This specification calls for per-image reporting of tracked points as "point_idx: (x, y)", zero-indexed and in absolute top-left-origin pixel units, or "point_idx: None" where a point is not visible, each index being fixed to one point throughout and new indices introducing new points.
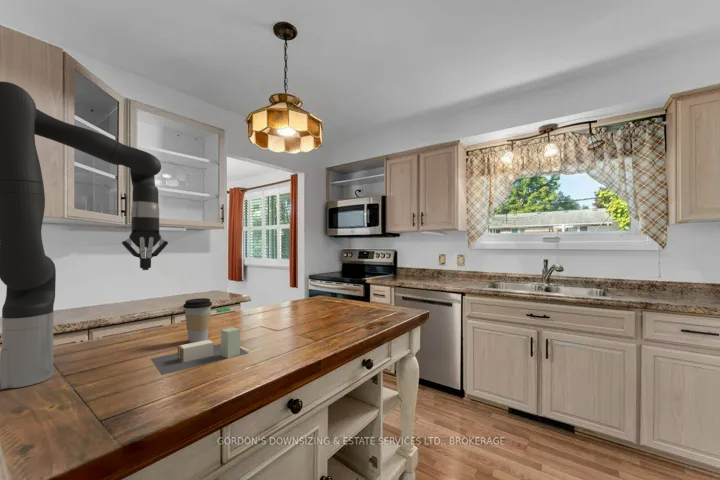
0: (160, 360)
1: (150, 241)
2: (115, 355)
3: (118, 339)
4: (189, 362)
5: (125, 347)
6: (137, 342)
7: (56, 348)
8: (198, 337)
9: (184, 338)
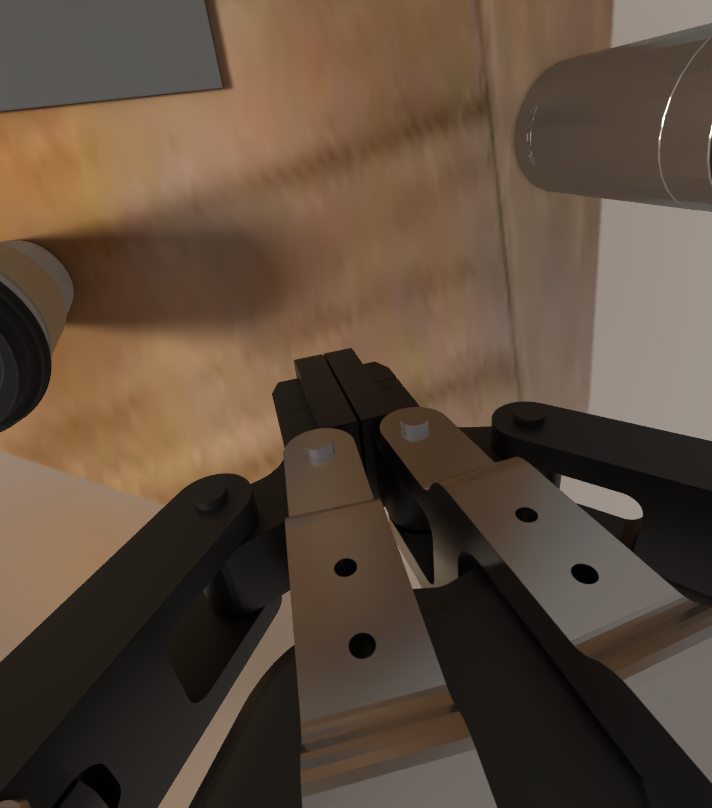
0: (173, 14)
1: (409, 745)
2: (352, 266)
3: None
4: None
5: None
6: None
7: None
8: (3, 242)
9: (106, 372)
